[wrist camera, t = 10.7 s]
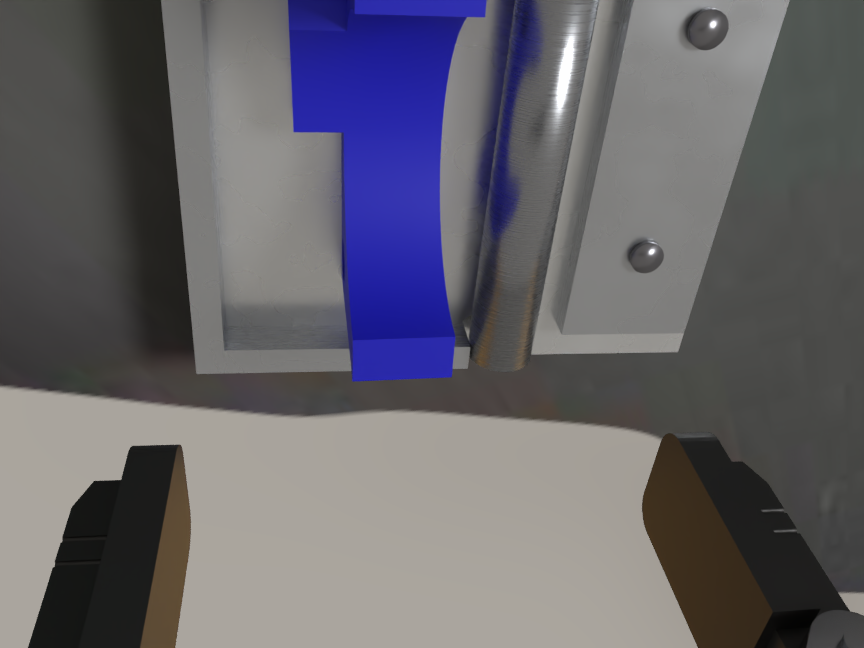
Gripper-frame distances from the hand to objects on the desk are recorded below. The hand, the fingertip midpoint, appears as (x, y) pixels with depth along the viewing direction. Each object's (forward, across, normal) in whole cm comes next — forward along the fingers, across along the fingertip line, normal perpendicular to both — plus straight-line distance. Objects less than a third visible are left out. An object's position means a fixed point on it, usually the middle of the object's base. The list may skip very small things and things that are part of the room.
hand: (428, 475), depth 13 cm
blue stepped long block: (+16, 0, 0) cm, 16 cm away
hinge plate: (+16, -4, 0) cm, 17 cm away
